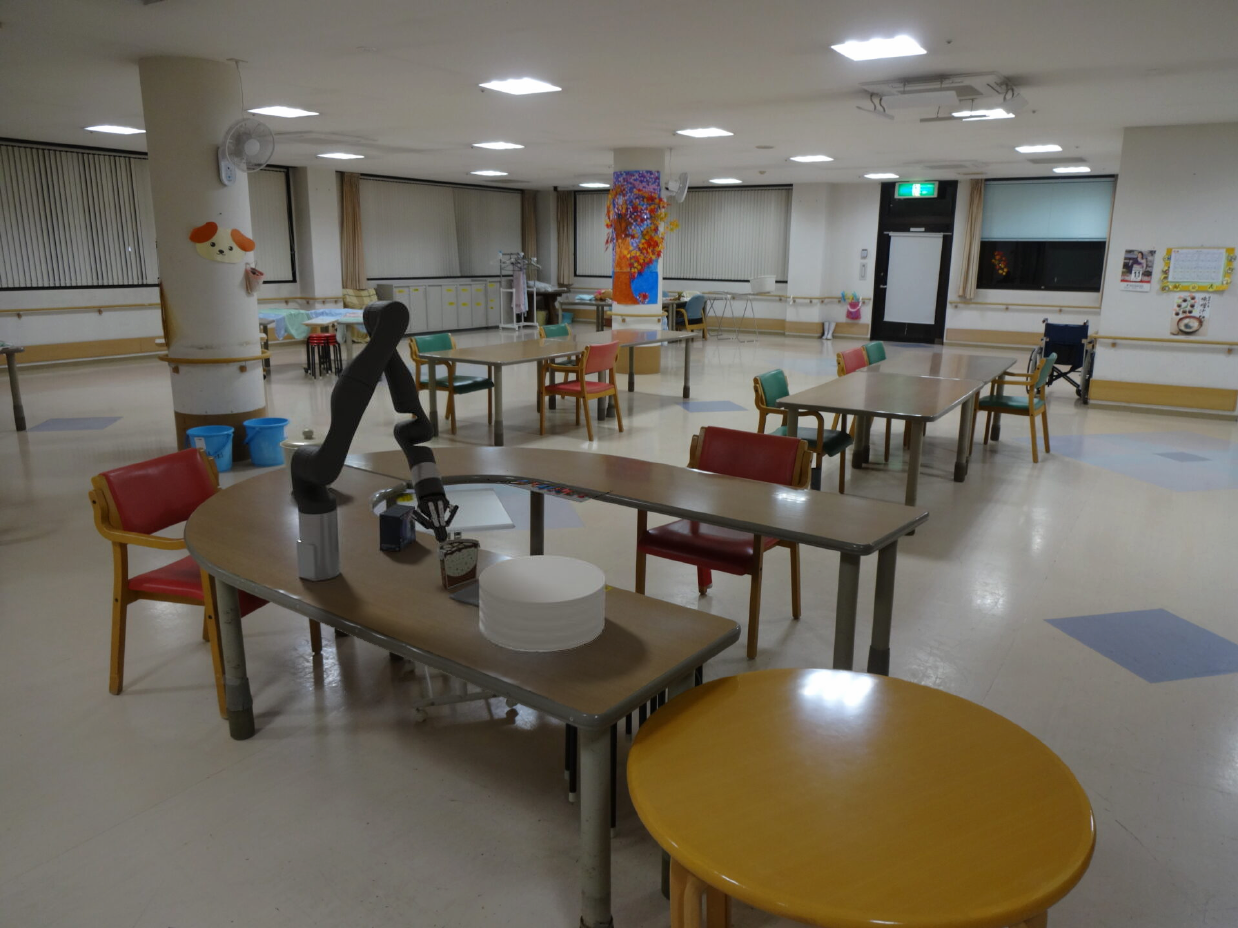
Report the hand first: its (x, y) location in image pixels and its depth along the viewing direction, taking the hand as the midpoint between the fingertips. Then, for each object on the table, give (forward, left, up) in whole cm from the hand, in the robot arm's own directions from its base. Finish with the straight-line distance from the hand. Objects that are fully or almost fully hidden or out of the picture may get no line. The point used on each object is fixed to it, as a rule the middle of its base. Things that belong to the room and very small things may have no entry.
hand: (443, 541), depth 220 cm
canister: (+31, +87, -9) cm, 93 cm away
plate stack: (-11, -39, -9) cm, 42 cm away
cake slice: (-3, -6, -9) cm, 11 cm away
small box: (+8, +24, -9) cm, 27 cm away
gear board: (+85, +28, -9) cm, 90 cm away
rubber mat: (-3, -17, -8) cm, 20 cm away
